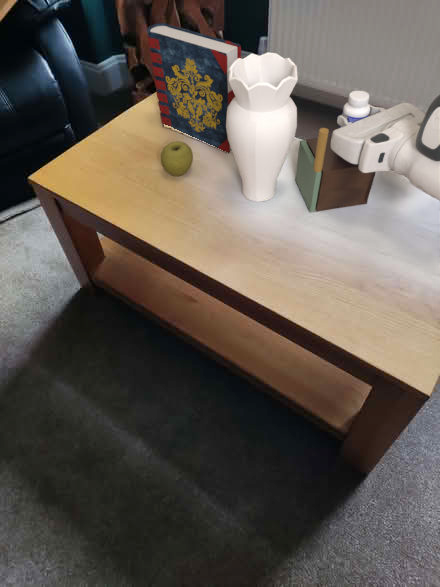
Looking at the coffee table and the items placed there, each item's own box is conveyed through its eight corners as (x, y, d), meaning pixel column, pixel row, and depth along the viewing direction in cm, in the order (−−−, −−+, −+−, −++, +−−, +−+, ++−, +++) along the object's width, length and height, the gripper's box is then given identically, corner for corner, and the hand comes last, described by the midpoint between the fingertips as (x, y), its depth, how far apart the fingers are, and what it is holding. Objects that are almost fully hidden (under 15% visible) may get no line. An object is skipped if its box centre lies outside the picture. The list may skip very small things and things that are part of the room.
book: (156, 125, 122) (139, 30, 103) (172, 114, 126) (159, 20, 106) (227, 154, 112) (224, 55, 93) (243, 141, 116) (242, 43, 96)
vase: (275, 166, 108) (284, 43, 85) (299, 202, 100) (316, 77, 77) (220, 179, 106) (213, 57, 83) (240, 218, 98) (239, 93, 75)
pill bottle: (367, 141, 93) (379, 98, 86) (346, 147, 92) (355, 104, 85) (354, 129, 97) (363, 86, 89) (333, 135, 96) (341, 92, 88)
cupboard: (348, 172, 106) (357, 131, 97) (366, 204, 99) (378, 163, 90) (300, 179, 105) (306, 139, 96) (316, 211, 98) (323, 171, 89)
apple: (200, 171, 109) (197, 146, 103) (174, 185, 106) (170, 160, 100) (182, 158, 112) (179, 133, 107) (157, 171, 109) (152, 146, 104)
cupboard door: (301, 178, 105) (311, 100, 89) (316, 211, 98) (330, 132, 82) (293, 179, 105) (302, 101, 89) (308, 212, 97) (321, 133, 82)
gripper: (445, 113, 83) (393, 84, 91) (363, 147, 78) (316, 113, 85) (433, 142, 88) (385, 112, 96) (356, 176, 83) (312, 141, 90)
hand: (352, 113), depth 91 cm, fingers closed on pill bottle, 5 cm apart
